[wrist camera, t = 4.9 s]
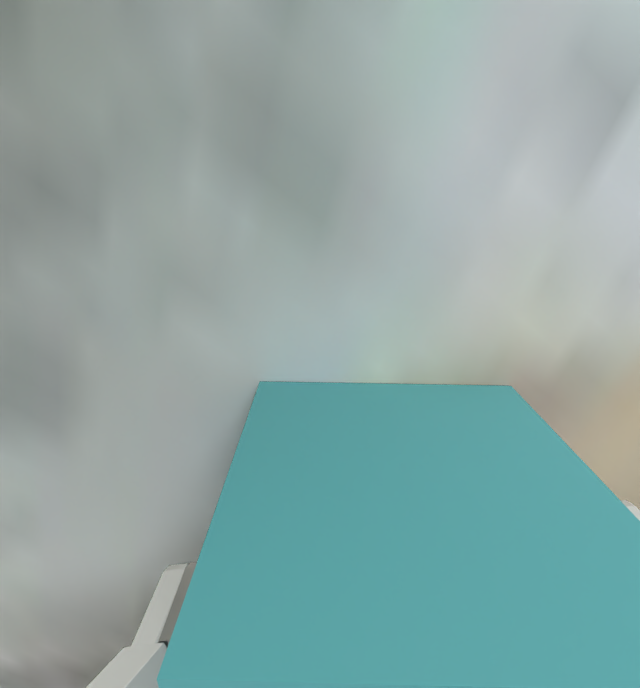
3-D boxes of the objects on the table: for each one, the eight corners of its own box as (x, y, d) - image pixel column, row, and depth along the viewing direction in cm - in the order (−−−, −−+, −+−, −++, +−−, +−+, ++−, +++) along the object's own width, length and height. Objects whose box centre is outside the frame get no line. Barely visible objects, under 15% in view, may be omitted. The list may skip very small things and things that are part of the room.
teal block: (470, 564, 11) (611, 927, 6) (269, 560, 11) (215, 914, 6) (510, 385, 9) (805, 694, 4) (260, 381, 9) (156, 678, 4)
